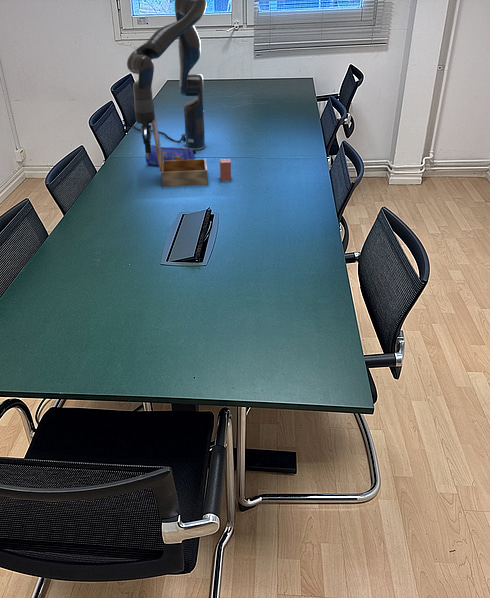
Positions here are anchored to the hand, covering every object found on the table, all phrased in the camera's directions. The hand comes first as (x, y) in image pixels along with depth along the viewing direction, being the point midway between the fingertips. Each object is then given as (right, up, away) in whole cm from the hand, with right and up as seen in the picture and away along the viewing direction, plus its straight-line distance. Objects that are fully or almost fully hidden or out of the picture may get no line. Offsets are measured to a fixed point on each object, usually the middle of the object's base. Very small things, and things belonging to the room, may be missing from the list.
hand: (148, 152), depth 224 cm
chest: (+15, -10, +7) cm, 19 cm away
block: (+32, -10, +7) cm, 34 cm away
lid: (+4, +3, -2) cm, 6 cm away
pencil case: (+8, -1, +21) cm, 23 cm away
